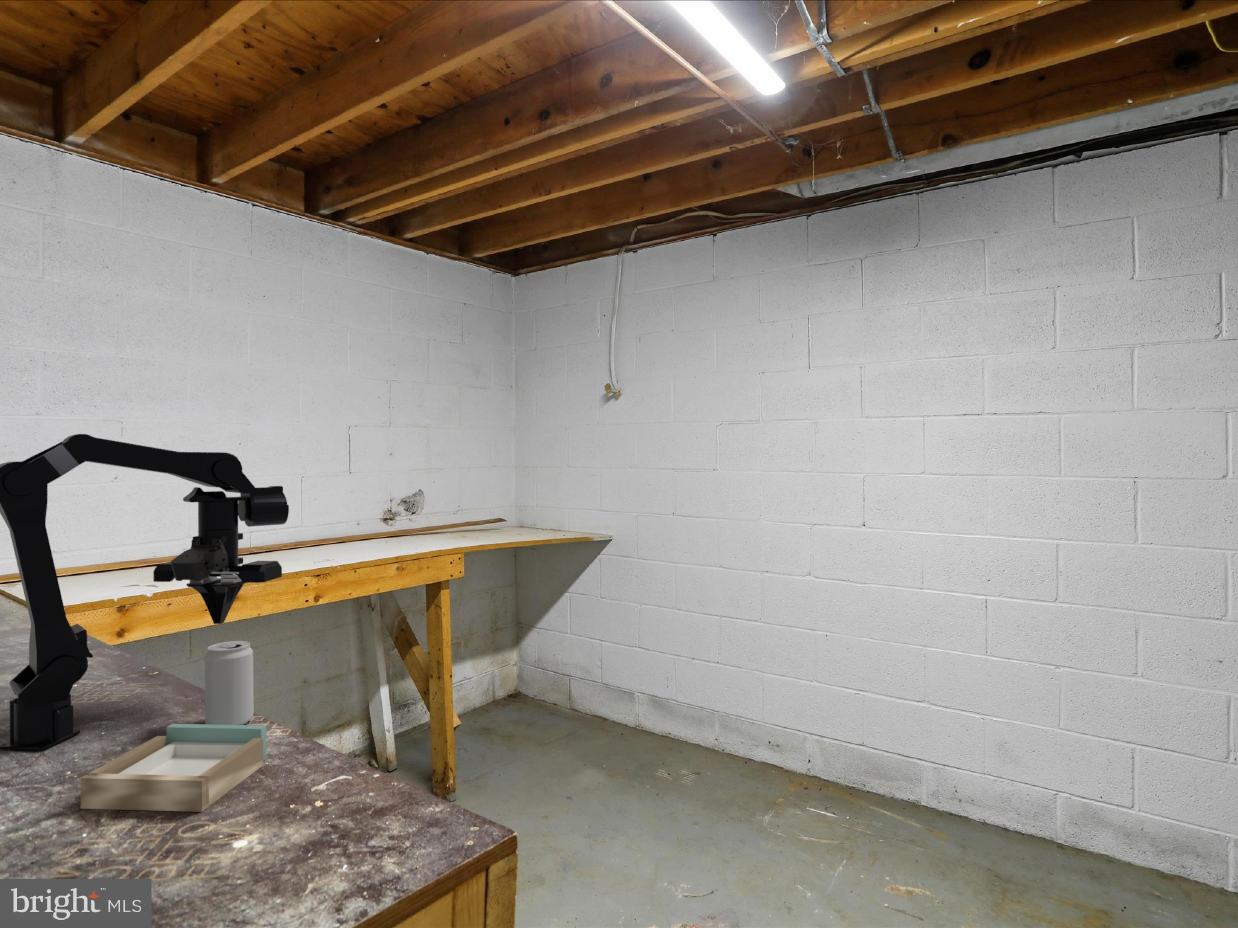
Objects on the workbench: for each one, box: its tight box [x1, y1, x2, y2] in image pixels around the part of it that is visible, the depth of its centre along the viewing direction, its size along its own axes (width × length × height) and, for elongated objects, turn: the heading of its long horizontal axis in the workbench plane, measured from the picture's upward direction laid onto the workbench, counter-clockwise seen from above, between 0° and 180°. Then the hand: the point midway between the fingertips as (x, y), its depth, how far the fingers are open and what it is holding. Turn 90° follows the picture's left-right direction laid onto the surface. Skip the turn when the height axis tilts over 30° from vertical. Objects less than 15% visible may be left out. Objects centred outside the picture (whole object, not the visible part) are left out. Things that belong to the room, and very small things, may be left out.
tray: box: [118, 723, 267, 776], centre depth 87 cm, size 13×12×4 cm
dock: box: [80, 735, 264, 813], centre depth 85 cm, size 14×12×4 cm
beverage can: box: [204, 640, 255, 725], centre depth 105 cm, size 6×6×12 cm
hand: (218, 623), depth 115 cm, fingers closed
